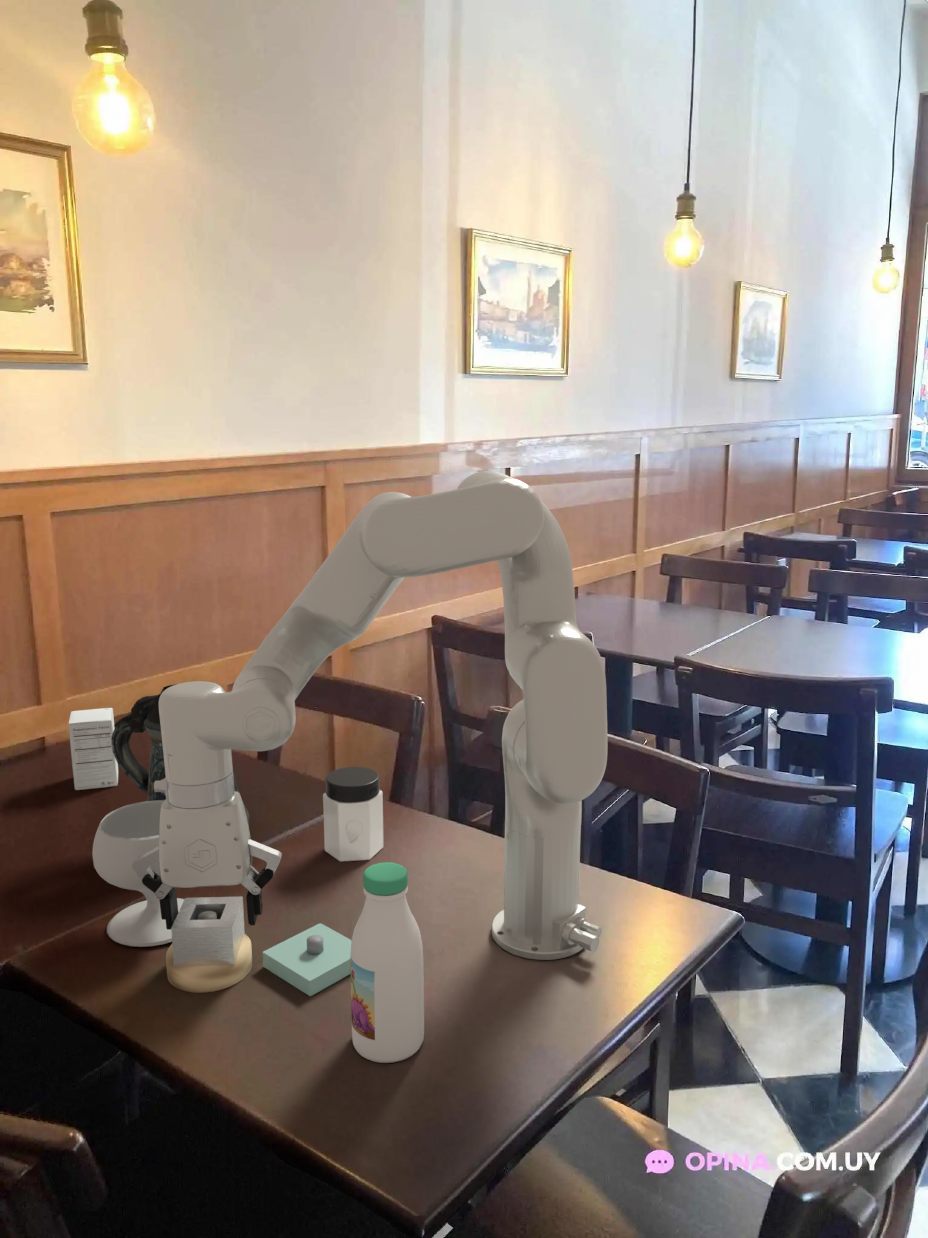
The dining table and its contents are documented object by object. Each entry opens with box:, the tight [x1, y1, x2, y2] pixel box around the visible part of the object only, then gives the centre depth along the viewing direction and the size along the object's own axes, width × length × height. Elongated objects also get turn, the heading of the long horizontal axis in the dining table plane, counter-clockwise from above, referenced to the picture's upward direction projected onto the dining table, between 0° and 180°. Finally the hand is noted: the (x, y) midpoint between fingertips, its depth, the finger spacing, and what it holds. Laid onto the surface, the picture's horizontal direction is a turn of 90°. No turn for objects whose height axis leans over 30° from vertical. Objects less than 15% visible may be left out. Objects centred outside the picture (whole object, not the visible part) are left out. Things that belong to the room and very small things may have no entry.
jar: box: [322, 766, 384, 862], centre depth 147 cm, size 9×8×12 cm
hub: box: [165, 911, 253, 994], centre depth 117 cm, size 10×10×7 cm
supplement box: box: [68, 707, 119, 791], centre depth 174 cm, size 7×7×13 cm
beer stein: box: [111, 683, 250, 826], centre depth 148 cm, size 16×19×25 cm
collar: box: [171, 896, 246, 967], centre depth 116 cm, size 7×7×5 cm
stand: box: [262, 922, 352, 997], centre depth 118 cm, size 9×9×4 cm
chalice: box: [91, 800, 185, 948], centre depth 126 cm, size 14×14×15 cm
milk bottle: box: [350, 861, 425, 1064], centre depth 102 cm, size 8×8×20 cm
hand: (213, 921), depth 116 cm, fingers open, 9 cm apart
